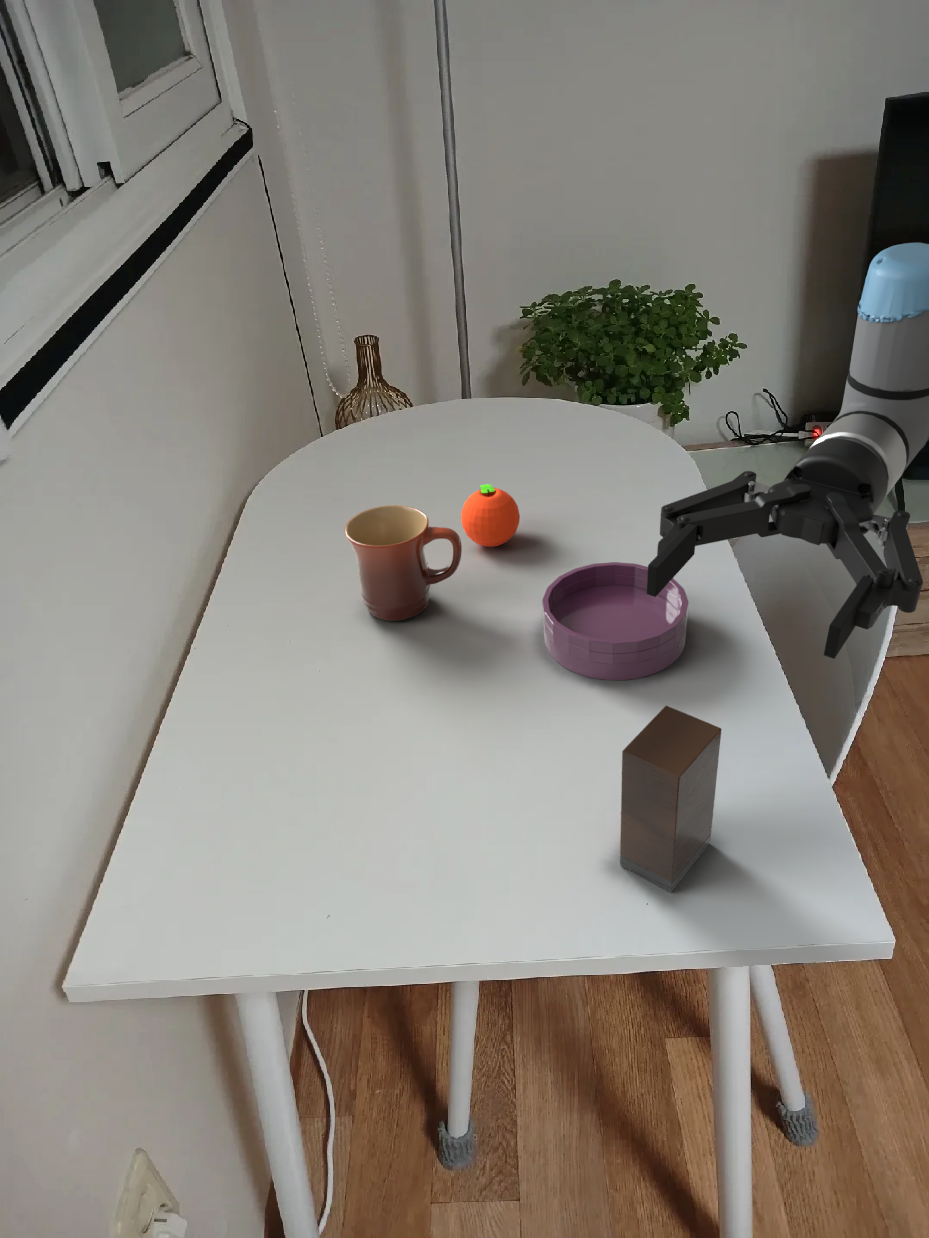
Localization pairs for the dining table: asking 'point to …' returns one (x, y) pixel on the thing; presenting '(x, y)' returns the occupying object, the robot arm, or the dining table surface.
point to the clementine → (490, 516)
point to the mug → (397, 559)
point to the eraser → (668, 796)
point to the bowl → (613, 622)
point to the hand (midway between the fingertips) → (737, 610)
